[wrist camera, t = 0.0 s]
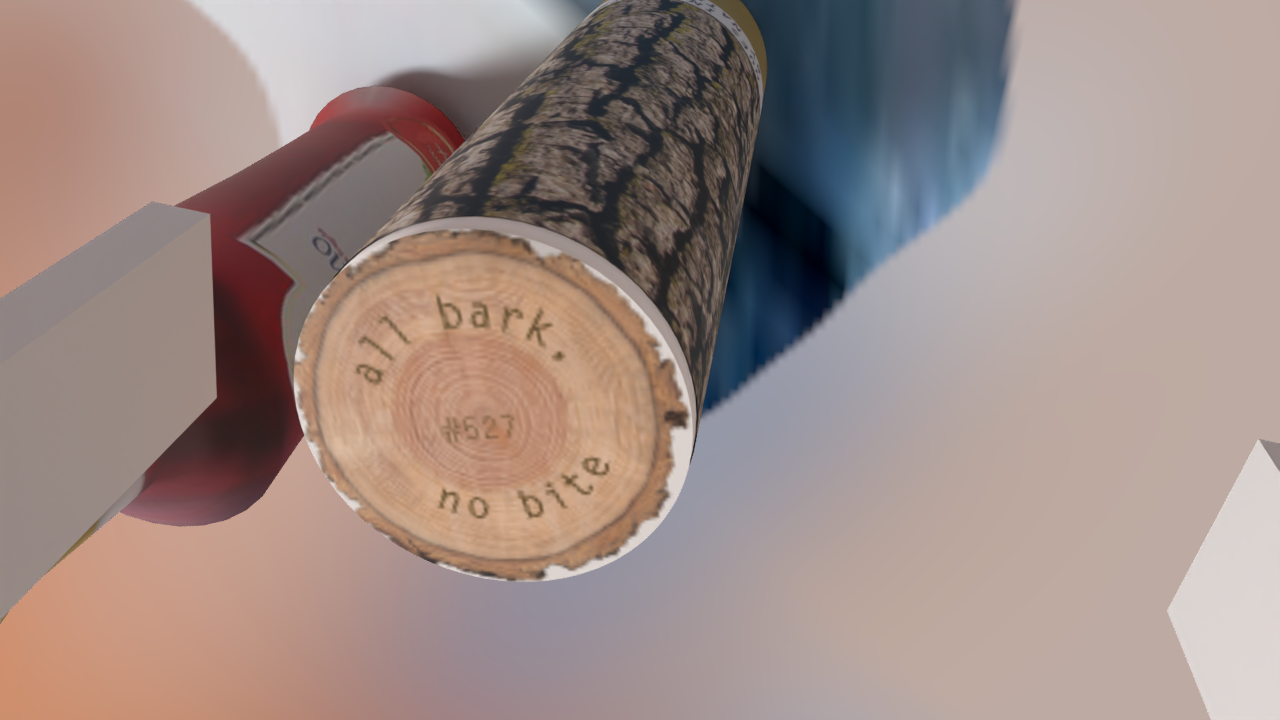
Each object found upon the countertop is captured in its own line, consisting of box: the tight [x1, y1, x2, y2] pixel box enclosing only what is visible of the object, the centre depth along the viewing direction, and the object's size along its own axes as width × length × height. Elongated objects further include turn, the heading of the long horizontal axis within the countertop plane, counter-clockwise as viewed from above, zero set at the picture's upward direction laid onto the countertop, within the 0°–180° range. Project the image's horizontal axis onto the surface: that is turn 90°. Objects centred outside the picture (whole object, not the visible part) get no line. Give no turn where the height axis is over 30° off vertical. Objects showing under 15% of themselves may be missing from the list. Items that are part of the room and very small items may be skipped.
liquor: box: [0, 86, 465, 624], centre depth 31 cm, size 7×7×28 cm
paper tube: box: [294, 0, 767, 582], centre depth 29 cm, size 7×7×25 cm
